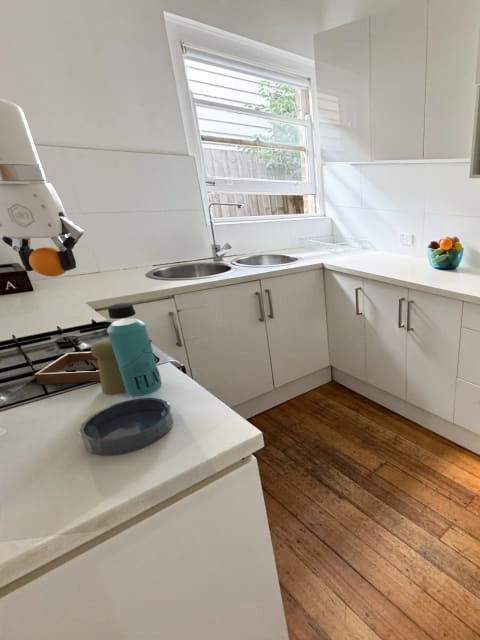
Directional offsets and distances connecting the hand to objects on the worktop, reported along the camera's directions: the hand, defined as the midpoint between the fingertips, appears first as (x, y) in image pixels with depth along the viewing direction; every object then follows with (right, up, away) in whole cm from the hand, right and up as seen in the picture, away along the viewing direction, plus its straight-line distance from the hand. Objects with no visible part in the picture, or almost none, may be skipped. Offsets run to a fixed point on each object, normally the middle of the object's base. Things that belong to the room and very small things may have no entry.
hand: (51, 268), depth 79 cm
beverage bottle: (+19, -27, +1) cm, 33 cm away
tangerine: (0, +1, 0) cm, 1 cm away
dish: (+24, -32, -10) cm, 41 cm away
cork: (+11, -25, +4) cm, 28 cm away
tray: (-1, -22, +10) cm, 24 cm away
